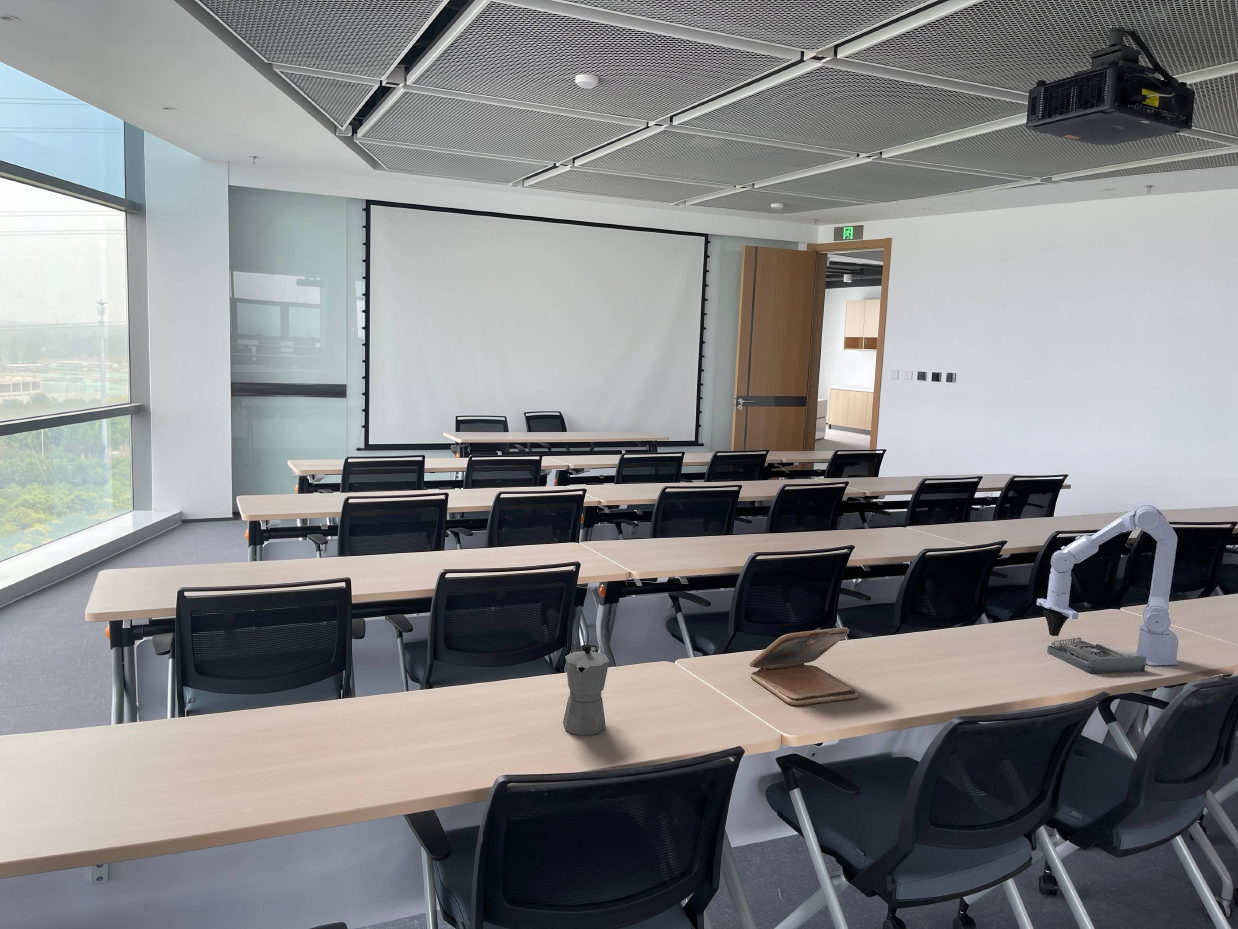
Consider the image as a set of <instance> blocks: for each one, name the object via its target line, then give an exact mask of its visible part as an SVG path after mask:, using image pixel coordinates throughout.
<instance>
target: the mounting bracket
mask: <svg viewBox="0 0 1238 929" xmlns="http://www.w3.org/2000/svg"><path fill="white" fill-rule="evenodd" d="M1095 646H1098V647H1100V648H1103V649H1105V650H1108V651H1110V652H1113V653H1115V654H1118V655H1120V656H1123V657H1099V658H1089V660H1088V661H1086V660H1083V659H1081V658H1079V657H1076V656H1074V655H1073V654H1072V655H1070V654H1069V652H1068V653H1066V651H1065V652H1063V651H1061V650H1059V649H1057V648H1055V647H1054V646H1051V645H1047V651H1046V652H1047V654H1049V655H1051V656H1053V657H1055V658H1057V659H1059V660H1062V661H1063V662H1065V663H1068V664H1070V665H1072V666H1074V667H1075V668H1078V669H1079V670H1081V671H1083V672H1086V673H1088V674H1091V675H1092V674H1093V675H1095V674H1096V675H1097V674H1098V675H1099V674H1115V673H1117V674H1118V673H1119V674H1120V673H1136V672H1137V673H1139V672H1140V673H1141V672H1142V673H1143V672H1145V670H1146V665H1147V664H1146V657H1144V656H1129V655H1128V656H1127V655H1125V654H1123V653H1120V652H1119V651H1116V650H1113V649H1111V648H1109V647H1106V646H1104V645H1102V644H1100V643H1096V644H1095ZM1102 654H1103V653H1102Z"/></svg>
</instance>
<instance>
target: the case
mask: <svg viewBox="0 0 1238 929" xmlns="http://www.w3.org/2000/svg"><path fill="white" fill-rule="evenodd" d="M849 633H850V629H849V628H848V627H847V626H846V627H845V626H843V627H835V628H826V629H817V630H808V631H800V632H791V633H787V634H783V635H782V636H779V637H778V638H777V639H776V640H774V641H773V642H772V643H771V644H770V645H768V646H767V647H766V648H765V649H764V650H763V651H762V652H760V653H759V654H758V655H757V656H756V657H755V658H754V659H752V660H751V661H750V662H749V664H748V665H749V667H750V668H755V669H758V670H757V671H752V672H751V673H750V674H749V675H750V678H751V679H752V680H754V681H755V682H756V683H758V684H759V685H760V686H762V687H763V688H765V689H766V690H768V691H769V692H770V693H772V694H774V696H777V698H779V699H780V700H782V702H784V703H786V704H788V705H791V706H807V705H814V704H823V703H829V702H830V703H831V702H839V701H848V700H854V699H857V698H858V697H859V693H858V692H857V691H856V690H855V689H854V688H853V687H851V686H849V685H848V684H846V683H844V682H843V681H841V680H840V679H838V678H837V677H835V676H834V675H832V674H831V673H828V672H827V671H826V670H823V669H822V668H820V667H818V666H816V665H812V664H809V663H812V662H813V663H814V661H816V660H818V659H819V658H820V657H822V656H824V654H826V653H827V652H828V651H830V649H832V648H833V647H834V646H836V644H838V643H839V642H841V640H843V639H844V638H845V637H846V636H848V634H849Z"/></svg>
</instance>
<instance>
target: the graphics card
mask: <svg viewBox="0 0 1238 929" xmlns="http://www.w3.org/2000/svg"><path fill="white" fill-rule="evenodd" d="M1050 646H1053V647H1055V648H1057V649H1059V650H1061V651H1063V652H1066V653H1068V654H1070V655H1072V656H1074V657H1076V658H1078V659H1080V660H1083V661H1085V662H1088V660H1089V658H1099V657H1123V656H1120V655H1118V654H1115V653H1113V652H1110V651H1108V650H1105V649H1103V648H1100V647H1098V646H1096V644H1092V643H1091V642H1087V641H1085V640H1083V638H1082V637H1080V636H1079V637H1073V638H1067V639H1066V638H1065V639H1059V640H1054V641H1053V642H1051V645H1050ZM1102 653H1103V654H1102Z"/></svg>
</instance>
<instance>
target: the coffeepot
mask: <svg viewBox="0 0 1238 929" xmlns="http://www.w3.org/2000/svg"><path fill="white" fill-rule="evenodd" d="M583 648H584V650H583V651H574V652H571V653H569V654H567V655H565V657H564V658H565V668H566V673H567V674H566V675H567V685H568V686H567V687H568V689H569V695H568V698H567V702H566V707H565V710H564V715H563V720H562V723H563V724H562V725H563V728H564V730H565V731H566V732H568V733H569V734H572V735H576V736H586V737H587V736H594V735H598V734H601V733H602V732H603V731H604V730H605V729H606V727H607V726H606V725H607V724H606V719H605V710H604V709H605V708H604V702H603V698H602V691H604V689H605V685H606V680H607V679H606V678H607V676H608V669H609V665H610V664H609V663H610V659H609V658H608V656H607V655H606V654H604V653H600V652H598V650H599V649H598V647H597V645H596V644H584V645H583Z"/></svg>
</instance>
